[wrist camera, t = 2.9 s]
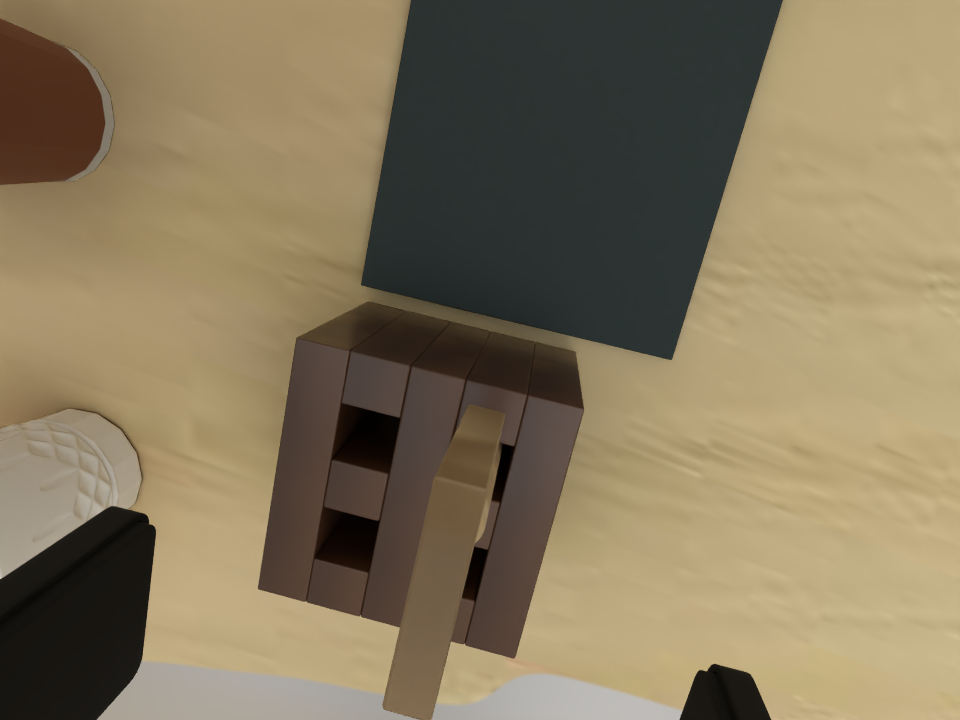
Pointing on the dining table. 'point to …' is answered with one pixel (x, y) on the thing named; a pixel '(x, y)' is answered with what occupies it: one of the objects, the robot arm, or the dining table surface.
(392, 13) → the dining table surface
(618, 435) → the dining table surface
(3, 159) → the coffee cup
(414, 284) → the mat
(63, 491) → the white cup
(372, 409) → the utensil block
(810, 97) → the dining table surface
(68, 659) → the robot arm
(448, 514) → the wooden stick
